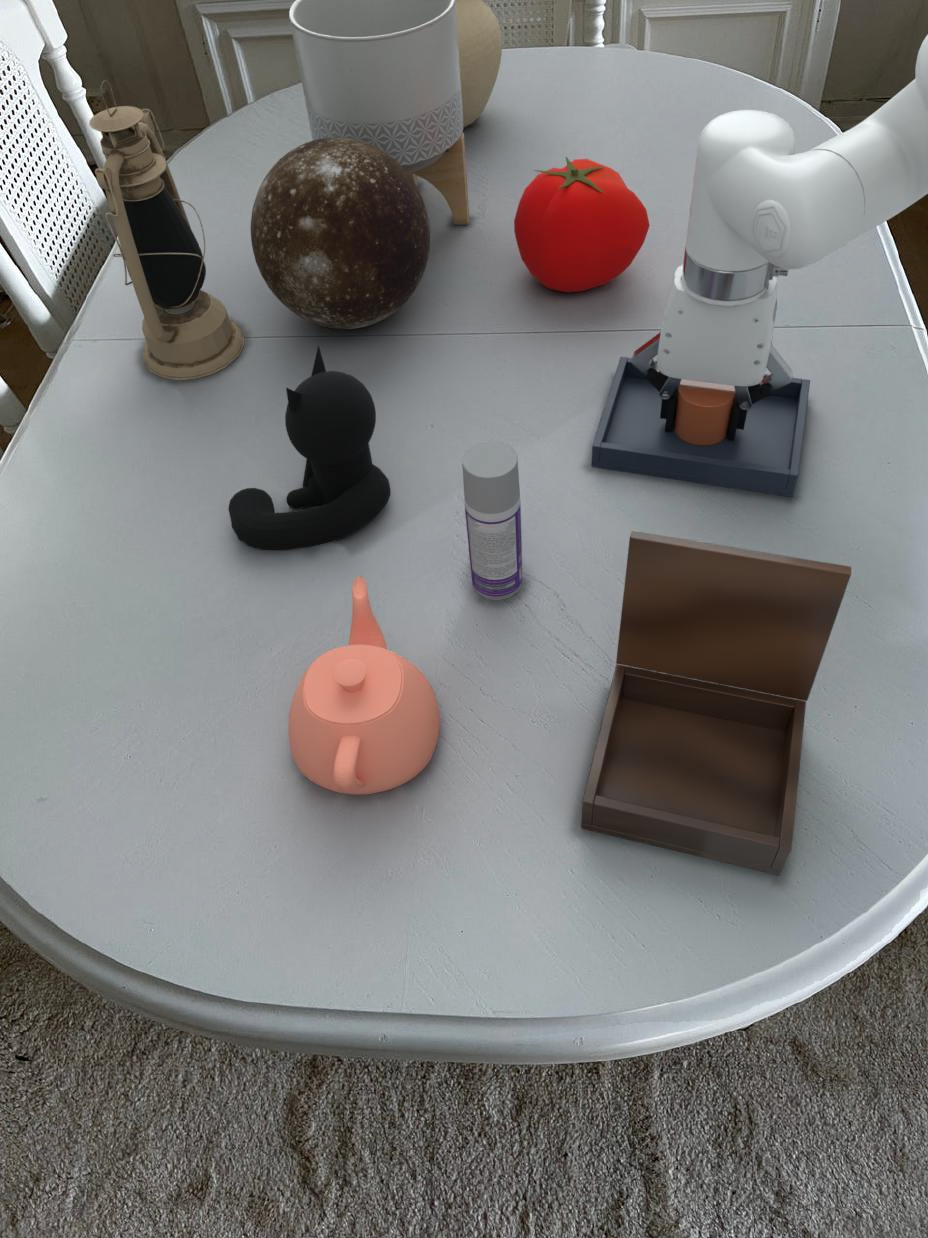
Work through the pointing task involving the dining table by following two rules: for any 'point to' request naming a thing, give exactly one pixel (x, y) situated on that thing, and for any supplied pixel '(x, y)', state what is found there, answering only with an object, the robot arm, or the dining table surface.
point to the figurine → (320, 469)
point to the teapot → (363, 712)
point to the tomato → (579, 226)
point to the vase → (477, 55)
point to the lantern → (161, 251)
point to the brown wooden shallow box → (697, 768)
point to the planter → (388, 83)
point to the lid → (728, 614)
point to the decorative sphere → (340, 233)
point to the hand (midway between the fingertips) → (701, 425)
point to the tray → (746, 463)
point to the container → (493, 518)
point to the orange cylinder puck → (703, 411)
